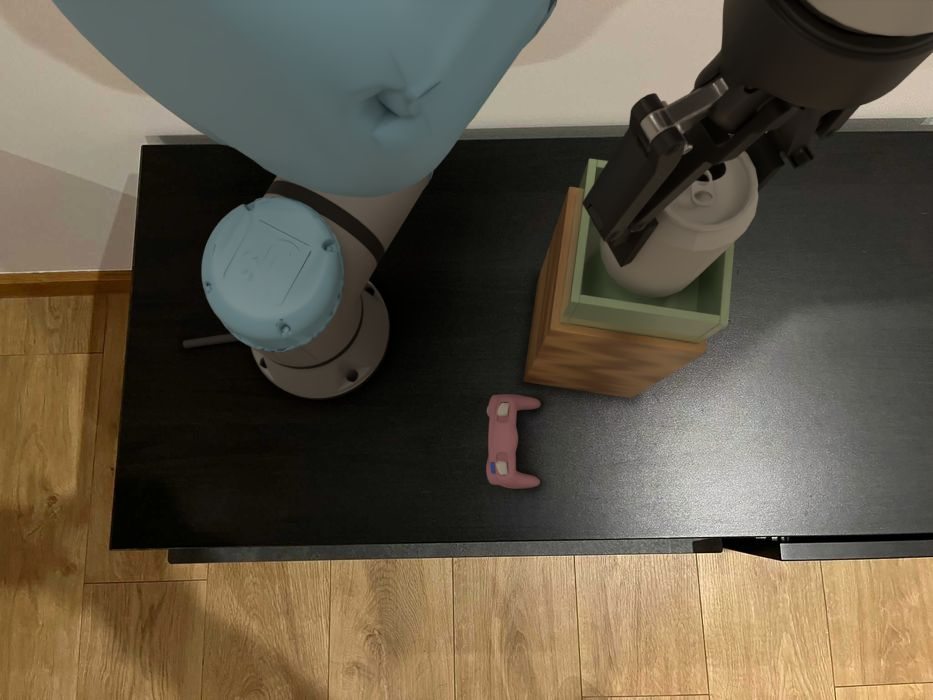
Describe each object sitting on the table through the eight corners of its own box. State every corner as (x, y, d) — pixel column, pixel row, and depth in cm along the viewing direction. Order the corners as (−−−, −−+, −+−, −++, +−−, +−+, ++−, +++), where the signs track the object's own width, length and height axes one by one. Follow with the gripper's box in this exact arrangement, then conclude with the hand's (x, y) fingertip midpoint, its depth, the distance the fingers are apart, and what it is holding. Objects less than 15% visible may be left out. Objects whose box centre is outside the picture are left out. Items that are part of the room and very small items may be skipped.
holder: (558, 323, 53) (570, 301, 47) (575, 194, 56) (589, 157, 50) (698, 344, 53) (728, 325, 47) (710, 213, 55) (739, 179, 49)
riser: (523, 381, 77) (550, 329, 53) (537, 279, 79) (569, 186, 56) (631, 398, 76) (706, 353, 53) (642, 294, 79) (718, 208, 55)
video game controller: (505, 399, 78) (478, 389, 72) (543, 397, 76) (519, 387, 70) (503, 489, 76) (475, 487, 69) (543, 490, 74) (518, 488, 67)
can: (701, 209, 51) (771, 123, 40) (698, 306, 50) (770, 246, 38) (600, 199, 52) (641, 111, 40) (594, 296, 50) (634, 233, 38)
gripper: (661, 168, 21) (559, 338, 44) (1191, -77, 23) (833, 206, 46) (548, -23, 23) (505, 237, 45) (1056, -239, 25) (773, 113, 47)
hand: (670, 221), depth 45 cm, fingers closed on can, 7 cm apart
